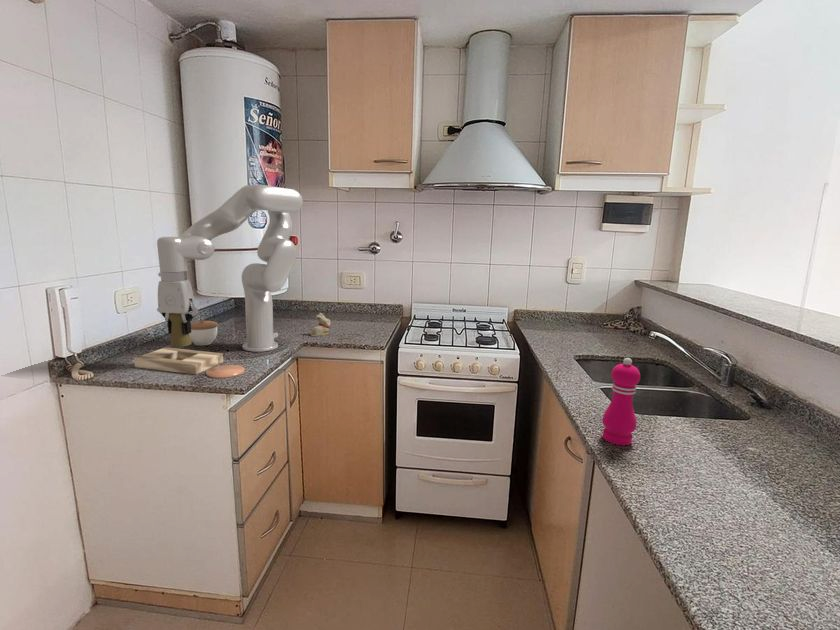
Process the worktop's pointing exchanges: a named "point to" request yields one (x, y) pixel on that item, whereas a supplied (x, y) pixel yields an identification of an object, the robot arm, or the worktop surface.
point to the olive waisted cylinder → (178, 331)
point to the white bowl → (203, 332)
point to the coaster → (225, 371)
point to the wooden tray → (179, 360)
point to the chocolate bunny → (321, 325)
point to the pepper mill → (621, 405)
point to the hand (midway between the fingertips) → (180, 332)
